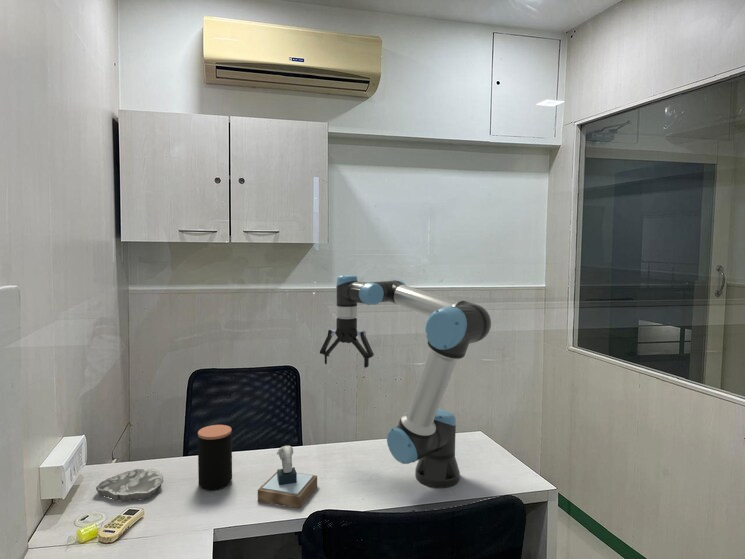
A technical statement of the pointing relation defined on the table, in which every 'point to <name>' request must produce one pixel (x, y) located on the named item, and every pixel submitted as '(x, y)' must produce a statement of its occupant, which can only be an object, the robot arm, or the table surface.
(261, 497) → the walnut plinth
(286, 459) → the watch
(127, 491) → the brain slice
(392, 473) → the table surface
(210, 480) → the coffee jar
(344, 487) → the table surface
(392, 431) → the robot arm
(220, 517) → the table surface
